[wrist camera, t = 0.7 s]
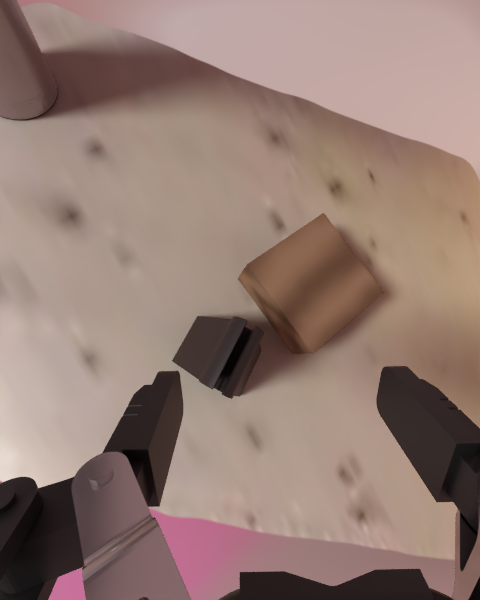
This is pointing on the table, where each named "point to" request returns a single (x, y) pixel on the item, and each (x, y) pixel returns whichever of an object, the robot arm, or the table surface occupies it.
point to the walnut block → (310, 285)
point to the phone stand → (220, 353)
